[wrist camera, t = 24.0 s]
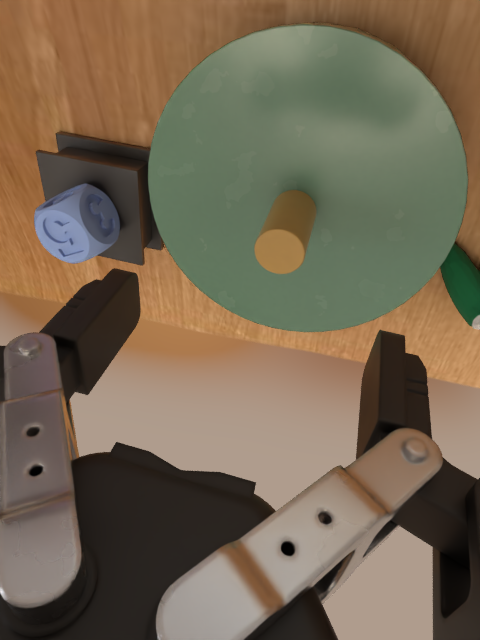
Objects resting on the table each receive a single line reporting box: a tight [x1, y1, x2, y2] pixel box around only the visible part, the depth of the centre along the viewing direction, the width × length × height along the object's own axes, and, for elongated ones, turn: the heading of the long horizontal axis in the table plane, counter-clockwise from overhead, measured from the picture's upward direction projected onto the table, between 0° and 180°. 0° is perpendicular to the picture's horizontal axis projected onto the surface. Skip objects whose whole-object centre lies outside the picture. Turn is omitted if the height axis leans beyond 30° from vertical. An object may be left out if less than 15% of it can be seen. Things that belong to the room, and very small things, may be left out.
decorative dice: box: [34, 184, 120, 264], centre depth 31 cm, size 4×4×4 cm
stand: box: [36, 132, 163, 265], centre depth 34 cm, size 8×8×4 cm
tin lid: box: [148, 23, 468, 332], centre depth 25 cm, size 18×18×6 cm
